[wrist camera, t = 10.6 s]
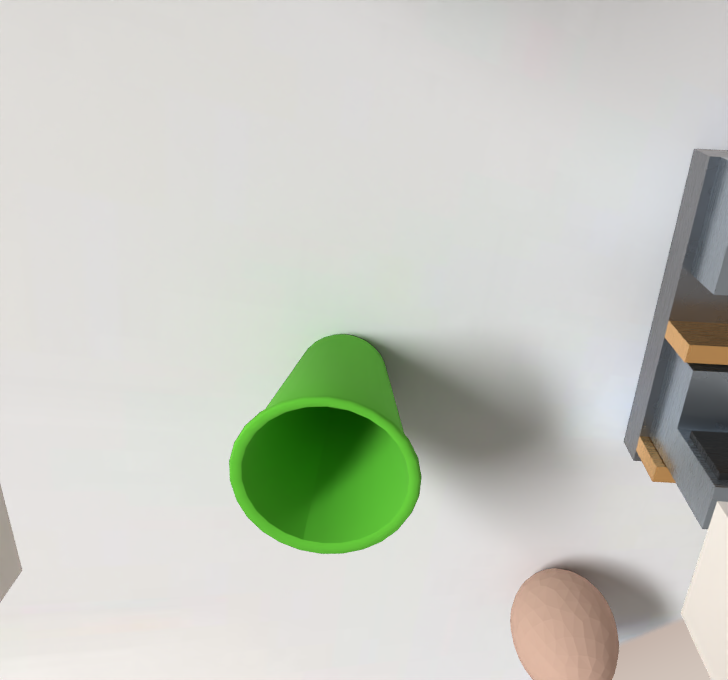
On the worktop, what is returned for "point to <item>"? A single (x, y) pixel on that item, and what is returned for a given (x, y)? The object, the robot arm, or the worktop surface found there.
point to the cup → (328, 454)
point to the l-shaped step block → (694, 432)
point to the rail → (687, 299)
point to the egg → (564, 628)
